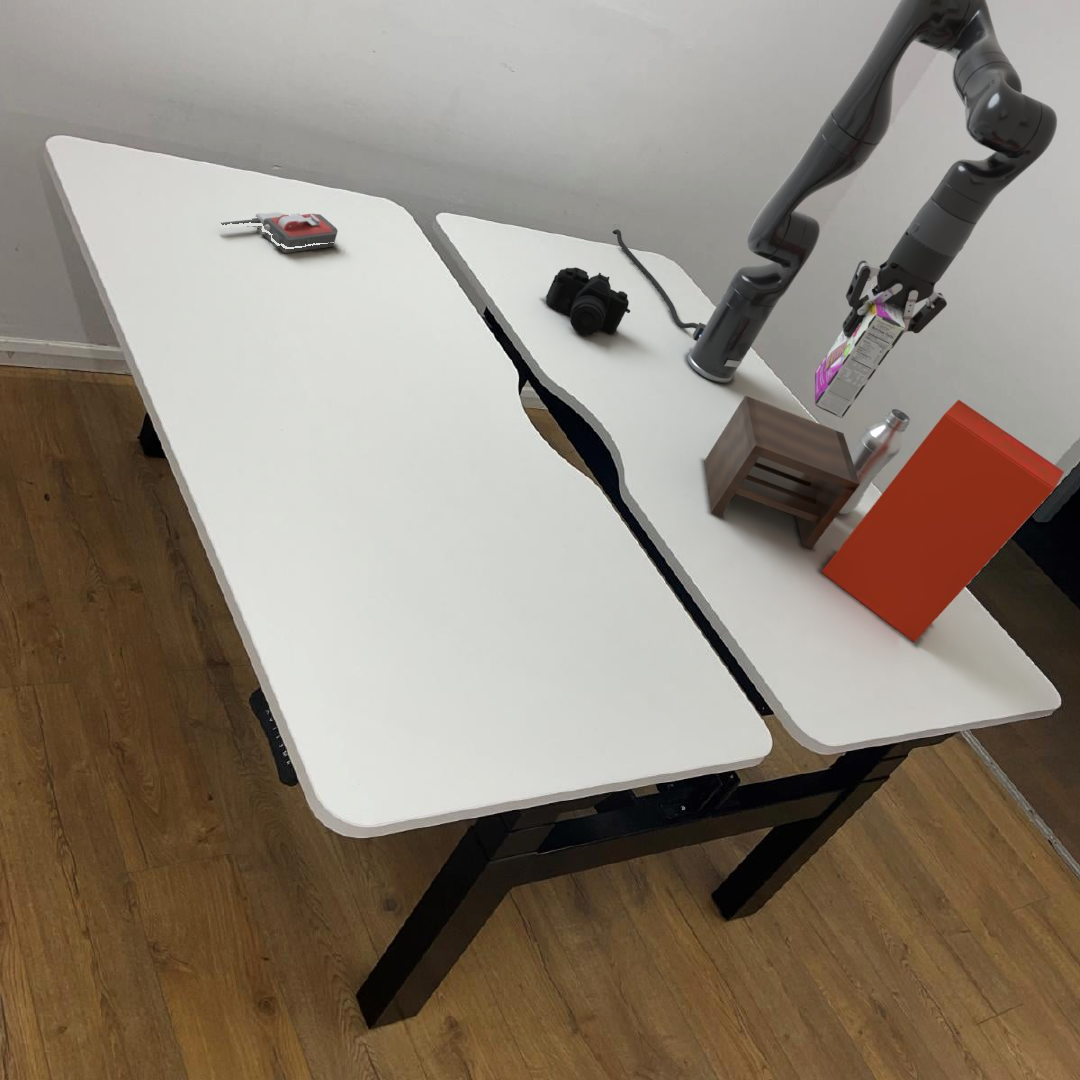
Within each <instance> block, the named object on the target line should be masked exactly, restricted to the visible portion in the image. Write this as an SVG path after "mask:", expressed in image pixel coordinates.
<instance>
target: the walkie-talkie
mask: <svg viewBox="0 0 1080 1080" xmlns="http://www.w3.org/2000/svg"><path fill="white" fill-rule="evenodd" d="M255 217H257V218H255ZM255 217H253V218H251V219H252V220H251V219H242V220H232V221H222V222H223V223H222V222H220V223H221V224H222V225H224V224H225V225H227V224H230V223H232V224H239V223H243V224H244V223H249V222H251V223H262V224H263V226H264V229H265V230H267V231H269V232H270V233H271V234H273V235H272V238H273V239H274V240H275V241H276V242H277V243H279V244H281V243H282V244H284V245H285V246H287V247H295V246H305V244H306V245H308V244H313V243H315V244H316V243H328V242H329V243H328V244H320V245H313V246H312V245H311V246H306V247H302V248H294V249H285V248H283V247H282V246H281V245H280V246H277V245H276V244H275V243H274V242H272V241H271V235H269V234H268V233H266V232H262V230H260V229H262V226H252V227H253V228H255V227H257V228H258V229H259V233H260V234H261V235H263V236H264V237H265V238H266V239H268V241H270V242H271V243H272V245H273V246H274V247H276V248H278V249H279V250H280V251H281V252H282V253H285V254H288V253H295V252H303V251H304V252H305V251H310V250H311V251H312V250H319V249H325V248H331V247H332V248H333V247H334V245H335V242H336V238H337V236H338V232H339V231H338V228H337V227H336V226H334V225H333V224H332V223H331V222H330V221H328V219H326V218H325V216H323V215H322V214H320V213H319V214H318V213H305V214H300V213H291V214H290V215H289V214H285V213H281V212H278V211H277V212H267V213H265V212H264V213H256V214H255ZM247 227H249V226H247ZM247 227H246V228H247ZM330 242H334V243H330Z"/></svg>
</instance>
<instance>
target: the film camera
mask: <svg viewBox="0 0 1080 1080" xmlns="http://www.w3.org/2000/svg"><path fill="white" fill-rule="evenodd" d="M545 303H546V305H547V306H549V307H550V308H552V309H554V310H556V311H558V312H560V313H562V314H565V315H567V316H569V320H570V325H571V327H572V328H573V330H574V331H575V332H576V333H577V334H580V335H582V336H592V335H595V334H596V333H598V331H602V332H604V333H607V334H608V335H609V334H610V335H612V334H615V332H617V329H618V328H619V326H620V324H621V322H622V320H623V318H624V316H625V314H626V313H627V314H629V313H631V310H630V308H629V304H630V301H629V299H628V294H627V293H626V292H625V291H622V290H619V291H616V290H614V289H612V288H611V284H610V276H605V275H603V274H602V273H601V272H598V274H596V275H594V276H591V277H590V276H589V275H588V271H586V270H584V269H581V268H579V267H566V268H562V269H560V270H559V271H558V272H557V274H555V275H554V278H553V280H552V282H551V285H550V287H549V288H548V291H547V293H546V296H545Z"/></svg>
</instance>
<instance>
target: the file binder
mask: <svg viewBox="0 0 1080 1080" xmlns="http://www.w3.org/2000/svg"><path fill="white" fill-rule="evenodd" d="M1064 473H1065V471H1064V470H1063V469H1061V468H1059V467H1058V466H1057V465H1055V464H1054V463H1052V462H1051V461H1049V460H1048V459H1046V458H1045V457H1043V456H1042V455H1041V454H1039V453H1038V452H1037V451H1035V450H1034V449H1032V448H1031V447H1029V446H1028V445H1026V444H1024V442H1022V441H1020V440H1018V439H1017V438H1016V437H1014V436H1013V435H1012V434H1010V433H1009V432H1007V431H1005V430H1004V429H1003V428H1001V427H1000V426H998V425H997V424H995V423H994V422H993V421H991V420H989V419H988V418H986V417H985V416H984V415H982V414H981V413H979V412H977V411H976V410H975V409H974V408H972V407H971V406H969V405H968V404H966V403H965V402H963V401H962V400H960V399H958V400H957V401H956V402H955V403H954V404H952V405H951V406H950V408H948V410H947V411H946V412H945V413H944V414H943V415H942V416H941V418H940V419H939V421H938V422H937V423H936V424H935V425H934V427H933V428H932V429H931V430H930V432H929V433H928V435H927V436H926V437H925V438H924V440H922V442H921V443H920V445H919V446H918V447H917V449H916V450H915V451H914V452H913V454H912V455H911V456H910V458H909V459H908V460H906V463H905V464H904V465H903V467H902V468H901V469H900V470H899V471H898V473H897V475H895V477H894V478H893V479H892V481H891V482H890V483H889V484H888V485H887V487H886V488H885V490H884V491H883V492H882V493H881V494H880V496H879V497H878V499H876V501H875V502H874V504H873V505H872V506H871V508H870V509H869V510H868V511H867V512H866V514H865V515H864V517H863V518H862V519H861V521H859V523H858V524H857V526H856V527H855V528H854V529H853V531H852V532H851V533H850V535H848V537H847V538H846V540H845V541H844V542H843V543H842V545H841V546H840V548H839V549H838V550H837V551H836V553H835V554H833V556H832V558H831V559H830V560H829V562H828V563H827V564H826V565H825V567H824V568H823V569H822V570H821V573H822V574H823V575H825V576H826V577H827V578H829V579H830V580H831V581H832V582H834V583H835V584H836V585H838V586H839V587H840V588H841V589H842V590H844V591H845V592H847V593H848V594H849V595H851V596H852V597H853V598H854V599H856V600H857V601H859V602H860V603H861V604H863V605H864V606H865V607H867V609H869V610H870V611H872V612H873V613H874V614H875V615H877V616H878V617H879V618H881V619H882V620H883V621H884V622H886V623H887V624H889V625H890V626H891V627H893V628H894V629H895V630H897V631H898V632H899V633H900V634H902V635H903V636H904V637H906V638H907V639H908V640H910V641H911V642H912V643H915V642H916V641H918V639H919V638H920V637H921V636H922V635H923V634H924V633H925V632H926V630H928V628H929V627H930V626H931V625H932V624H933V623H934V622H935V621H936V620H937V618H938V617H939V616H940V615H942V613H943V612H944V611H945V610H946V609H947V608H948V606H949V605H950V604H951V603H952V602H953V601H954V600H955V599H956V598H957V597H958V595H959V594H960V593H961V592H963V590H964V589H965V588H966V586H967V585H968V584H969V583H970V582H971V581H973V579H974V578H975V577H976V576H977V575H978V573H980V572H981V570H982V569H983V568H984V567H985V566H986V565H987V564H988V562H990V561H991V559H992V558H993V557H994V556H995V555H996V554H997V553H998V552H999V551H1000V550H1001V548H1002V547H1003V546H1004V545H1005V544H1006V543H1007V542H1008V541H1009V540H1010V538H1011V537H1012V536H1013V535H1014V534H1015V533H1016V532H1017V531H1018V530H1019V528H1020V527H1022V526H1023V524H1024V523H1025V522H1027V520H1028V519H1029V518H1030V516H1032V515H1033V513H1034V512H1035V511H1036V510H1037V509H1038V508H1039V507H1040V506H1041V505H1042V503H1043V502H1044V501H1045V500H1046V499H1047V498H1048V497H1049V496H1050V495H1051V494H1052V492H1054V490H1055V489H1056V487H1057V485H1058V484H1059V482H1060V481H1061V479H1062V477H1063V475H1064Z"/></svg>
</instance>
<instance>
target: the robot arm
mask: <svg viewBox="0 0 1080 1080" xmlns="http://www.w3.org/2000/svg"><path fill="white" fill-rule="evenodd" d="M876 40H877V41H876V42H875V44H874V46H873V47H872V49H871V51H870V52H869V54H868V56H867V57H866V59H865V61H864V62H863V64H862V65H861V67H860V68H859V70H857V71H858V72H857V73H856V74H855V76H854V77H853V79H852V80H851V82H850V84H849V85H848V87H847V88H846V90H845V91H844V92H843V94H842V95H841V97H840V98H839V100H837V102H836V103H835V105H834V106H833V107H832V109H831V111H830V112H829V114H828V115H827V116H826V118H825V120H824V121H823V122H822V124H821V126H820V127H819V129H818V130H817V132H816V134H815V135H814V137H813V138H812V140H811V142H810V143H809V145H808V146H807V148H806V150H805V151H804V152H803V154H802V155H801V157H800V159H799V160H798V162H797V163H796V164H795V166H794V167H793V169H792V170H791V171H790V173H789V174H788V175H787V177H786V178H785V179H784V180H783V182H782V183H781V184H780V185H779V186H778V188H777V189H776V191H775V192H774V193H773V194H772V195H771V197H770V198H768V201H767V202H766V203H765V205H763V207H762V208H761V210H760V211H759V213H758V214H757V215H756V218H755V219H754V221H753V223H752V225H751V227H750V229H749V231H748V235H747V239H746V240H747V241H746V244H747V248H748V250H749V251H750V252H751V253H753V254H755V255H757V256H759V257H761V258H763V259H766V260H768V261H770V262H769V263H765V264H757V265H751V264H750V265H742V266H740V267H739V268H738V269H736V272H735V273H734V275H733V276H732V279H731V280H730V283H729V284H728V286H727V288H726V289H725V291H724V293H723V295H722V296H721V299H720V300H719V302H718V304H717V305H716V306H715V308H714V310H713V312H712V314H711V316H710V318H709V319H708V321H707V323H706V324H704V323H702V322H699V323H696V322H688V323H687V322H686V323H684V322H682V321H681V319H680V318H679V316H678V313H677V310H676V308H675V305H674V303H673V302H672V300H671V298H670V296H669V295H668V294H667V292H666V291H665V290H664V288H663V287H662V286H661V284H660V283H659V282H658V281H657V279H656V278H655V277H654V275H652V274H651V272H650V271H649V270H648V269H647V268H646V267H645V266H644V264H642V262H640V260H639V259H638V258H637V256H635V255H634V254H633V252H632V251H631V250H630V249H629V247H627V245H626V244H625V242H624V241H623V238H622V232H621V230H620V229H614V230H613V231H611V233H612V234H613V235H616V238H617V243H618V245H619V246H620V248H621V249H622V250H623V252H624V253H625V254H626V256H628V258H629V259H630V260H631V261H632V262H633V263H634V264H635V265H636V266H637V268H638V269H639V270H640V271H641V272H642V273H643V274H644V275H645V277H646V278H647V279H648V280H649V281H650V282H651V283H652V284H653V286H654V287H655V288H656V290H657V291H658V292H659V294H660V295H661V297H662V298H663V299H664V302H665V303H666V304H667V306H668V308H669V310H670V313H671V316H672V319H673V321H674V323H675V324H676V325H677V326H678V327H680V328H682V329H694V332H693V333H692V339H693V341H695V344H694V346H693V347H692V349H691V351H689V354H687V362H688V364H689V365H690V367H691V368H692V369H693V370H694V371H695V372H696V373H697V374H699V375H701V376H702V377H704V378H706V379H708V380H710V381H712V382H715V383H720V384H726V383H727V384H728V383H730V382H731V381H732V380H733V378H734V376H735V373H736V372H737V370H738V368H739V367H740V366H741V365H742V362H743V360H744V358H745V357H746V355H747V354H748V352H749V350H750V349H751V347H752V346H753V344H754V342H755V340H756V339H757V338H758V335H759V334H760V332H761V330H763V329H762V328H763V327H764V325H765V324H766V322H767V320H769V319H768V318H769V317H770V316H771V314H772V312H773V310H774V309H775V307H776V306H777V304H778V302H779V300H780V299H781V298H782V297H783V296H784V295H785V294H786V292H788V290H789V288H790V287H791V285H792V283H793V282H794V280H795V279H796V277H797V276H798V275H799V273H800V272H801V271H802V268H804V266H805V264H806V263H807V262H808V260H809V258H810V257H811V255H812V253H813V252H814V250H815V248H816V246H817V245H818V244H817V243H818V241H819V239H820V233H821V225H820V222H819V221H818V220H817V219H815V218H814V217H812V216H810V215H807V214H805V213H803V212H801V211H798V210H796V209H797V208H798V207H799V206H800V205H801V204H802V203H803V202H804V201H805V200H806V199H807V198H809V197H810V196H811V195H813V194H815V193H816V192H818V191H820V190H822V189H824V188H826V187H828V186H830V185H833V184H835V183H837V182H838V181H840V180H841V181H842V179H844V178H846V177H848V176H850V175H852V174H853V173H855V172H857V171H858V170H859V169H860V168H862V166H863V165H864V164H865V163H866V162H867V161H868V160H869V158H870V157H871V156H872V154H873V153H874V151H875V150H876V148H877V147H878V146H879V145H880V143H881V141H882V140H883V139H884V138H885V136H886V134H887V132H888V130H889V127H890V123H891V118H892V110H893V109H892V108H893V91H894V83H895V76H896V72H897V69H898V67H899V65H900V63H901V60H902V59H903V57H904V55H905V54H906V52H907V50H908V49H909V47H910V46H911V44H913V42H917V43H919V44H921V45H924V46H926V47H928V48H931V49H932V50H935V51H938V52H944V53H946V54H948V55H950V56H951V57H952V58H953V59H954V62H953V65H952V69H951V79H952V83H953V87H954V90H955V91H956V93H957V95H958V97H959V98H960V100H961V102H962V104H963V105H964V108H965V109H964V115H965V130H966V132H967V134H968V135H969V136H970V137H971V139H972V140H973V141H974V142H976V143H977V144H979V145H980V146H982V147H985V148H987V149H990V150H991V151H993V153H992V154H991V155H988V157H986V158H983V159H980V160H975V159H965V158H963V159H958V160H956V161H955V162H953V163H952V165H951V166H950V167H949V169H947V171H946V173H945V174H944V175H943V178H942V179H941V181H940V182H939V183H938V185H937V187H936V188H935V189H934V191H933V193H932V194H931V196H929V198H928V200H927V201H926V202H925V203H924V204H923V205H922V207H920V209H919V210H918V212H917V213H916V214H915V216H914V218H913V219H912V221H910V223H909V225H908V227H907V228H906V230H905V231H904V233H903V234H902V236H901V238H900V239H899V240H898V242H897V243H896V244H895V246H894V248H893V249H892V251H891V252H890V254H889V256H888V257H887V259H886V260H885V261H884V262H883V263H881V264H880V265H873V264H868V262H867V261H866V260H860V261H859V262H858V264H857V266H856V269H855V272H854V274H853V276H852V279H851V282H850V284H849V286H848V289H847V291H846V294H845V298H846V300H847V302H848V306H849V307H850V308H852V309H851V311H850V312H849V314H848V315H847V316H846V317H845V319H844V321H843V322H842V331H843V332H844V335H845V336H846V337H849V338H850V337H851V336H852V334H853V333H854V331H855V330H856V328H857V327H858V325H859V324H860V322H861V321H862V319H863V318H864V317H863V315H864V314H865V313H867V312H868V311H869V310H870V308H871V307H872V306H873V305H875V304H877V305H880V304H881V303H883V302H886V303H890V304H894V305H895V306H896V307H898V308H900V309H901V310H902V313H903V316H904V322H905V328H906V329H905V330H904V331H903V333H902V334H901V335H900V337H899V338H898V340H897V341H896V342H895V344H894V345H893V347H892V348H891V349H890V351H891V350H892V349H893V348H894V347H896V346H895V345H896V344H897V343H898V342H899V340H900V339H901V337H902V336H903V335H904V333H907V332H913V334H920V333H921V332H922V331H923V329H925V328H926V327H927V326H928V325H929V324H930V323H931V322H932V321H933V320H934V319H935V318H936V317H937V316H938V315H939V314H940V313H941V312H942V311H943V310H944V309H945V308H946V307H947V305H948V302H947V301H946V299H945V297H944V295H943V294H942V292H936V291H935V286H936V284H937V283H938V282H939V281H940V280H941V278H942V277H943V275H944V274H945V273H946V271H947V270H948V269H949V267H950V266H951V265H952V263H953V262H954V260H955V259H956V257H957V255H958V254H959V253H960V252H961V250H963V248H964V246H965V244H966V243H967V241H968V240H969V238H970V237H971V235H972V233H973V231H974V229H975V227H976V226H977V225H978V222H979V221H980V220H981V219H982V217H983V216H984V214H985V213H986V211H987V210H988V208H989V207H990V205H991V204H992V203H993V201H994V200H995V198H996V197H998V195H999V194H1000V193H1001V192H1002V191H1003V190H1004V189H1005V188H1007V187H1008V186H1009V185H1011V183H1012V182H1013V181H1015V180H1016V179H1017V178H1018V177H1019V176H1020V175H1021V174H1023V172H1025V171H1026V170H1027V169H1028V168H1029V167H1030V166H1032V164H1034V163H1035V162H1036V161H1037V160H1038V159H1039V158H1041V156H1042V155H1043V154H1044V153H1045V152H1046V150H1047V149H1048V148H1049V146H1050V145H1051V143H1052V141H1053V140H1054V137H1055V135H1056V131H1057V128H1058V116H1057V113H1056V111H1055V110H1054V109H1053V108H1052V107H1051V106H1049V105H1048V104H1046V103H1044V102H1041V101H1039V100H1037V99H1035V98H1033V97H1030V96H1029V95H1026V94H1023V86H1022V80H1021V78H1020V75H1019V74H1018V72H1017V70H1016V69H1015V67H1014V66H1013V64H1012V62H1011V61H1010V60H1009V58H1008V57H1007V55H1006V54H1005V52H1004V51H1003V49H1002V47H1001V45H1000V44H999V40H998V38H997V35H996V30H995V27H994V23H993V20H992V16H991V13H990V10H989V6H988V3H987V1H986V0H899V2H898V3H897V5H896V6H895V8H894V9H893V12H892V13H891V15H890V17H889V19H888V20H887V22H886V24H885V26H884V28H883V30H882V31H881V33H880V35H879V36H878V38H877V39H876ZM875 276H876V283H874V284H875V285H873V284H872V285H873V286H872V285H871V286H872V287H869V288H868V289H867V290H866V292H865V294H863V292H864V289H865V287H866V284H867V282H870V281H872V279H873V278H874V277H875ZM878 293H879V294H878ZM862 294H863V295H862ZM877 294H878V295H877ZM924 300H925V304H924V305H923V306H922V307H921V308H920V309H919V310H918V311H916V313H915V314H914V310H915V307H916V304H918V303H920V302H922V301H924Z"/></svg>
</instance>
